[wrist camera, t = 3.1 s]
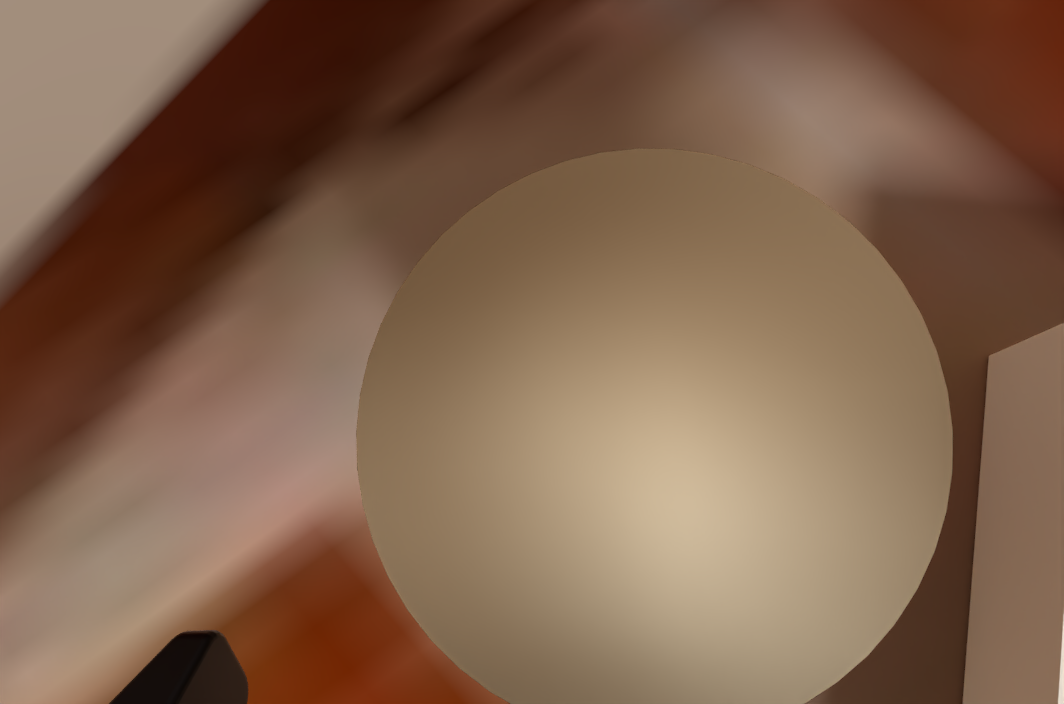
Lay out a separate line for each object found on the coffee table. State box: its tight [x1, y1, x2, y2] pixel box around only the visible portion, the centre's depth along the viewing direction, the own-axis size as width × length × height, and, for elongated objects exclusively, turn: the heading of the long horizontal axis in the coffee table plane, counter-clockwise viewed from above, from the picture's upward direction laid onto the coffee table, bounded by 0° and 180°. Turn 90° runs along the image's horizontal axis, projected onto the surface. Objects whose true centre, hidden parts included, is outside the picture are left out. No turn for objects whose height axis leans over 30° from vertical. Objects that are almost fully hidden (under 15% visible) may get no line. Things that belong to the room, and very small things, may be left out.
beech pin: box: [356, 149, 953, 704], centre depth 13 cm, size 5×5×11 cm
